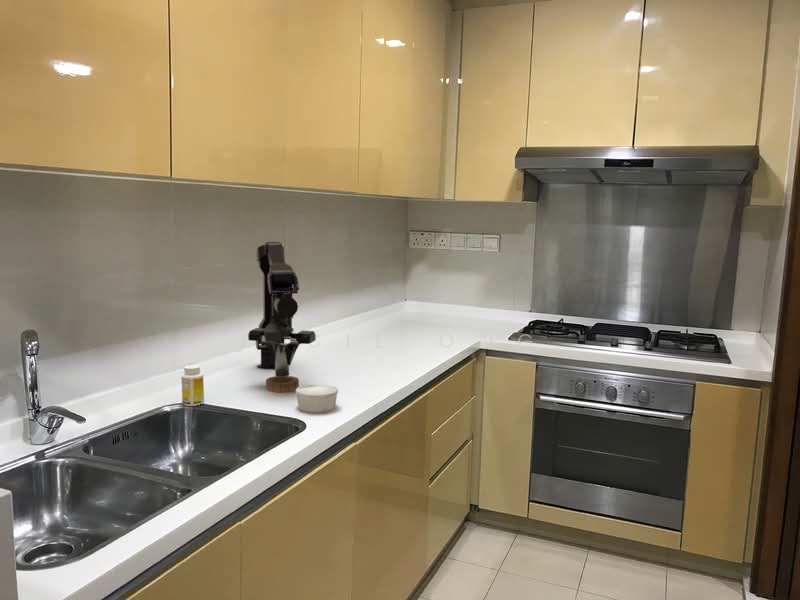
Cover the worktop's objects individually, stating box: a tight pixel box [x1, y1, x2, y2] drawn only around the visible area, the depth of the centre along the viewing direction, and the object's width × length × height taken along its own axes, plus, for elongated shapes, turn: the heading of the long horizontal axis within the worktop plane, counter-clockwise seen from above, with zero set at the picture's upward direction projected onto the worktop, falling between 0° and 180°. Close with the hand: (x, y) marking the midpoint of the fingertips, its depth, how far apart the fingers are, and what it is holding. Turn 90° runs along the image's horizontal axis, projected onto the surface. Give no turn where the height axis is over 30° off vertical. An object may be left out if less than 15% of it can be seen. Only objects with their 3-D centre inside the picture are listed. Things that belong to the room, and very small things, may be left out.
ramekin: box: [295, 383, 339, 414], centre depth 175 cm, size 11×11×5 cm
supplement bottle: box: [181, 364, 205, 407], centre depth 176 cm, size 6×6×10 cm
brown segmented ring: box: [265, 375, 300, 393], centre depth 193 cm, size 9×9×2 cm
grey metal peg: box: [274, 342, 290, 377], centre depth 193 cm, size 4×4×9 cm
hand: (282, 364), depth 193 cm, fingers closed on grey metal peg, 4 cm apart
